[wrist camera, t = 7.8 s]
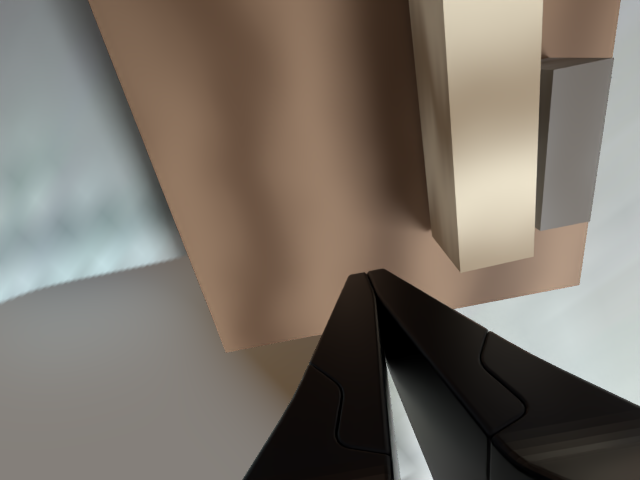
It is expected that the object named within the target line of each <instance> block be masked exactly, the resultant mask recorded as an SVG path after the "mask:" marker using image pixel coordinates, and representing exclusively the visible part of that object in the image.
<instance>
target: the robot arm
mask: <svg viewBox="0 0 640 480" xmlns="http://www.w3.org/2000/svg"><path fill="white" fill-rule="evenodd" d="M386 363H387V366H388V368H389V371H390V374H391V376H392V379H393V381H394V384H395V386H396V389H397V391H398V394H399V396H400V399H401V401H402V403H403V406H404V408H405V411H406V413H407V416H408V418H409V421H410V423H411V426H412V428H413V430H414V433H415V435H416V438H417V440H418V443H419V445H420V448H421V450H422V453H423V455H424V457H425V460H426V462H427V465H428V467H429V470H430V472H431V475H432V477H433V480H640V406H638V405H636V404H634V403H632V402H630V401H628V400H626V399H623V398H621V397H619V396H617V395H615V394H613V393H611V392H609V391H607V390H605V389H602V388H600V387H598V386H596V385H594V384H592V383H590V382H588V381H586V380H583V379H581V378H579V377H577V376H575V375H573V374H571V373H569V372H567V371H565V370H562V369H560V368H558V367H556V366H554V365H552V364H550V363H548V362H546V361H544V360H542V359H540V358H538V357H536V356H534V355H532V354H530V353H529V352H527V351H525V350H523V349H521V348H520V347H518V346H516V345H514V344H512V343H511V342H509V341H507V340H505V339H504V338H502V337H500V336H498V335H497V334H495V333H493V332H492V331H489V332H488V329H486V328H485V327H483V326H481V325H479V324H478V323H476V322H474V321H473V320H471V319H469V318H468V317H466V316H464V315H462V314H461V313H459V312H457V311H456V310H454V309H452V308H451V307H449V306H447V305H445V304H444V303H442V302H440V301H439V300H437V299H435V298H434V297H432V296H430V295H428V294H427V293H425V292H423V291H422V290H420V289H418V288H417V287H415V286H413V285H411V284H410V283H408V282H406V281H405V280H403V279H401V278H400V277H398V276H396V275H394V274H393V273H391V272H389V271H388V270H386V269H383V268H381V269H376V270H371V271H368V272H367V274H366V273H365V272H361V273H356V274H351V275H349V276H348V278H347V280H346V282H345V284H344V287H343V289H342V291H341V293H340V296H339V298H338V300H337V302H336V304H335V307H334V309H333V311H332V313H331V316H330V318H329V320H328V322H327V325H326V327H325V329H324V331H323V333H322V336H321V338H320V340H319V343H318V345H317V347H316V349H315V351H314V354H313V356H312V358H311V360H310V362H309V365H308V366H307V369H306V371H305V373H304V375H303V378H302V380H301V382H300V384H299V386H298V388H297V390H296V392H295V394H294V396H293V398H292V400H291V402H290V404H289V405H288V407H287V409H286V410H285V412H284V414H283V415H282V417H281V419H280V420H279V422H278V424H277V425H276V427H275V428H274V430H273V432H272V433H271V435H270V437H269V438H268V440H267V441H266V443H265V444H264V446H263V448H262V449H261V451H260V452H259V454H258V456H257V457H256V459H255V461H254V462H253V464H252V465H251V467H250V468H249V470H248V472H247V473H246V475H245V476H244V478H243V480H401V479H400V471H399V462H398V454H397V446H396V438H395V430H394V422H393V414H392V405H391V397H390V389H389V381H388V373H387V366H386Z"/></svg>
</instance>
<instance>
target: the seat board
mask: <svg viewBox="0 0 640 480" xmlns="http://www.w3.org/2000/svg"><path fill="white" fill-rule="evenodd" d="M620 1H621V0H543V16H542V43H541V70H540V97H539V124H538V151H537V178H536V205H535V232H534V257H529V258H525V259H520V260H516V261H512V262H507V263H503V264H498V265H494V266H489V267H485V268H480V269H476V270H471V271H467V272H462V273H460V272H459V270H458V269H457V268H456V266H455V265H454V264H453V263H452V261H451V260H450V259H449V258H448V256H447V255H446V254H445V252H444V251H443V250H442V249H441V247H440V246H439V245H438V243H437V242H436V241H435V240H434V238H433V237H432V231H431V221H430V211H429V201H428V191H427V181H426V171H425V161H424V151H423V141H422V131H421V121H420V110H419V100H418V90H417V80H416V70H415V60H414V50H413V40H412V30H411V20H410V10H409V0H88V2H89V4H90V7H91V9H92V12H93V15H94V17H95V20H96V22H97V25H98V27H99V30H100V32H101V35H102V38H103V40H104V43H105V45H106V48H107V50H108V53H109V55H110V58H111V60H112V63H113V66H114V68H115V71H116V73H117V76H118V78H119V81H120V83H121V86H122V89H123V91H124V94H125V96H126V99H127V101H128V104H129V106H130V109H131V111H132V114H133V117H134V119H135V122H136V124H137V127H138V129H139V132H140V134H141V137H142V140H143V142H144V145H145V147H146V150H147V152H148V155H149V157H150V160H151V162H152V165H153V168H154V170H155V173H156V175H157V178H158V180H159V183H160V185H161V188H162V191H163V193H164V196H165V198H166V201H167V203H168V206H169V208H170V211H171V214H172V216H173V219H174V221H175V224H176V226H177V229H178V231H179V234H180V236H181V239H182V242H183V244H184V247H185V249H186V252H187V254H188V257H189V259H190V262H191V264H192V267H193V270H194V272H195V275H196V277H197V280H198V282H199V285H200V287H201V290H202V293H203V295H204V298H205V300H206V303H207V305H208V308H209V310H210V313H211V316H212V318H213V321H214V323H215V325H216V328H217V331H218V333H219V336H220V339H221V341H222V343H223V346H224V348H225V351H226V353H227V352H232V351H237V350H242V349H247V348H253V347H257V346H263V345H268V344H273V343H279V342H284V341H289V340H294V339H299V338H305V337H309V336H315V335H320V334H322V333H323V331H324V329H325V327H326V325H327V322H328V320H329V318H330V316H331V313H332V311H333V309H334V307H335V304H336V302H337V300H338V298H339V296H340V293H341V291H342V289H343V287H344V284H345V282H346V280H347V278H348V276H349V275H351V274H356V273H361V272H365V273H366V274H367V272H368V271H371V270H376V269H381V268H383V269H386V270H388V271H389V272H391V273H393V274H394V275H396V276H398V277H400V278H401V279H403V280H405V281H406V282H408V283H410V284H411V285H413V286H415V287H417V288H418V289H420V290H422V291H423V292H425V293H427V294H428V295H430V296H432V297H434V298H435V299H437V300H439V301H440V302H442V303H444V304H445V305H447V306H449V307H451V308H452V309H456V308H461V307H467V306H472V305H477V304H482V303H488V302H493V301H498V300H503V299H508V298H514V297H519V296H524V295H529V294H535V293H540V292H545V291H550V290H555V289H561V288H566V287H571V286H576V285H579V283H580V277H581V270H582V263H583V256H584V249H585V242H586V235H587V228H588V222H589V221H590V217H591V210H592V203H593V197H594V190H595V183H596V176H597V169H598V163H599V156H600V149H601V142H602V135H603V129H604V122H605V115H606V108H607V101H608V95H609V88H610V81H611V74H612V67H613V61H614V58H612V56H613V49H614V42H615V35H616V29H617V22H618V15H619V8H620Z"/></svg>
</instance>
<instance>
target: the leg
mask: <svg viewBox="0 0 640 480" xmlns="http://www.w3.org/2000/svg"><path fill="white" fill-rule="evenodd" d="M409 10H410V20H411V30H412V40H413V50H414V60H415V70H416V80H417V90H418V100H419V110H420V121H421V131H422V141H423V151H424V161H425V171H426V181H427V191H428V201H429V211H430V221H431V231H432V237H433V238H434V240H435V241H436V242H437V243H438V245H439V246H440V247H441V249H442V250H443V251H444V252H445V254H446V255H447V256H448V258H449V259H450V260H451V261H452V263H453V264H454V265H455V266H456V268H457V269H458V270H459V272H460V273H462V272H467V271H471V270H476V269H480V268H485V267H489V266H494V265H498V264H503V263H507V262H512V261H516V260H520V259H525V258H529V257H534V232H535V205H536V178H537V151H538V124H539V97H540V70H541V43H542V16H543V0H409Z"/></svg>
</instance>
